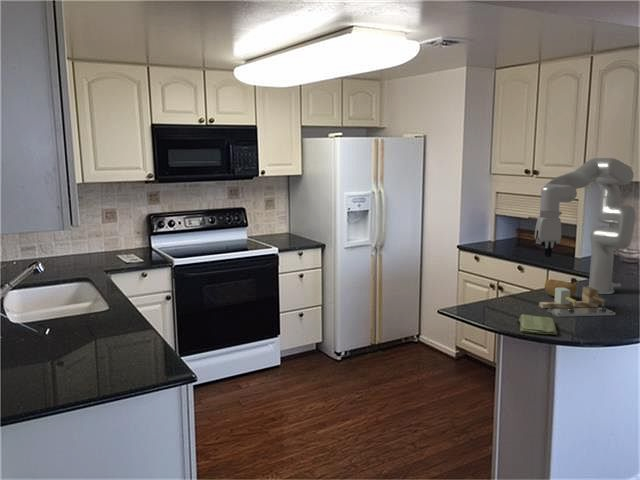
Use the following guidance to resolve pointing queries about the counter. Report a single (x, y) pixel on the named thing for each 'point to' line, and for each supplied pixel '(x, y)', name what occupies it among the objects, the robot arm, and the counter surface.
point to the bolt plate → (581, 312)
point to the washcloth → (537, 325)
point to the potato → (559, 286)
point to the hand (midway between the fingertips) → (547, 256)
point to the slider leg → (563, 296)
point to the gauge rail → (588, 300)
